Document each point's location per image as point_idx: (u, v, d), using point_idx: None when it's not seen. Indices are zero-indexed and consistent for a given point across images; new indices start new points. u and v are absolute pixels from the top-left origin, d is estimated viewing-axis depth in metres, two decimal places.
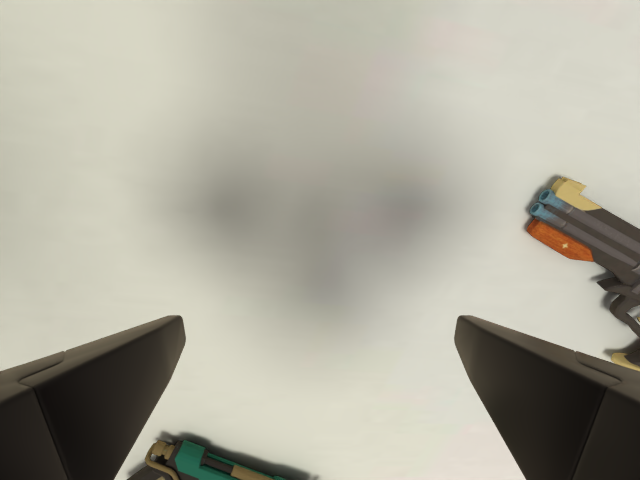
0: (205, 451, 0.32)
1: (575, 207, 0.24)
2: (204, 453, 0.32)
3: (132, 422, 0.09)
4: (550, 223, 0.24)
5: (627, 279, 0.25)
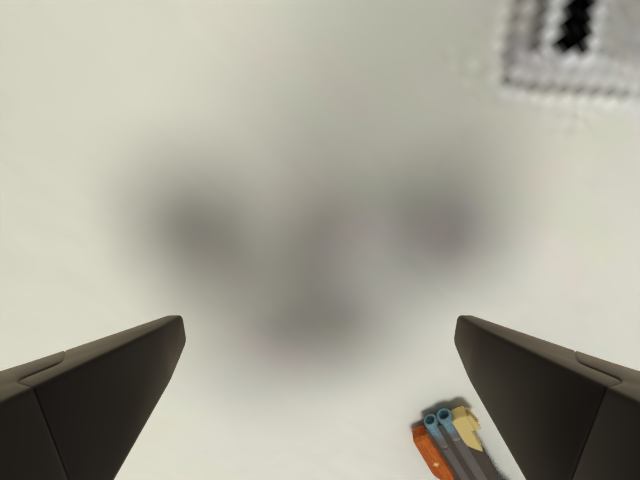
0: None
1: (462, 439, 0.23)
2: None
3: (132, 422, 0.09)
4: (434, 440, 0.24)
5: None
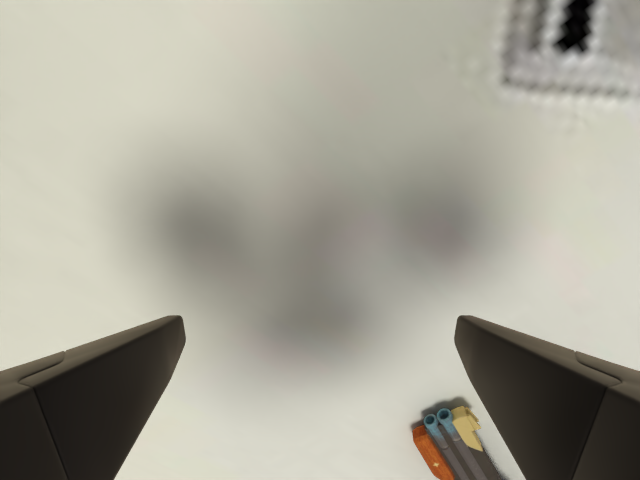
0: None
1: (462, 439, 0.23)
2: None
3: (132, 422, 0.09)
4: (434, 440, 0.24)
5: None
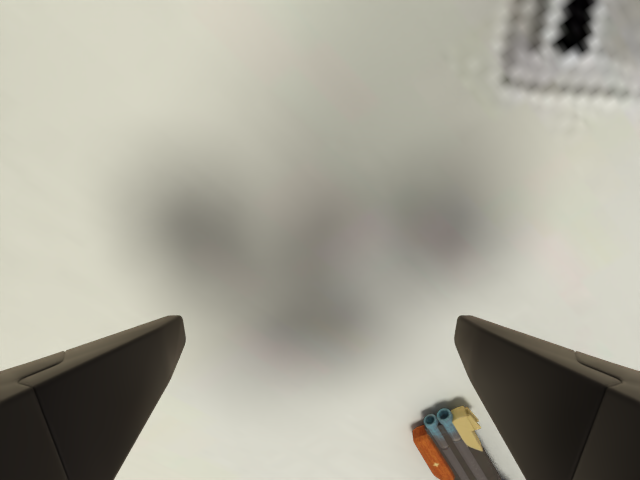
0: None
1: (462, 439, 0.23)
2: None
3: (132, 422, 0.09)
4: (434, 440, 0.24)
5: None
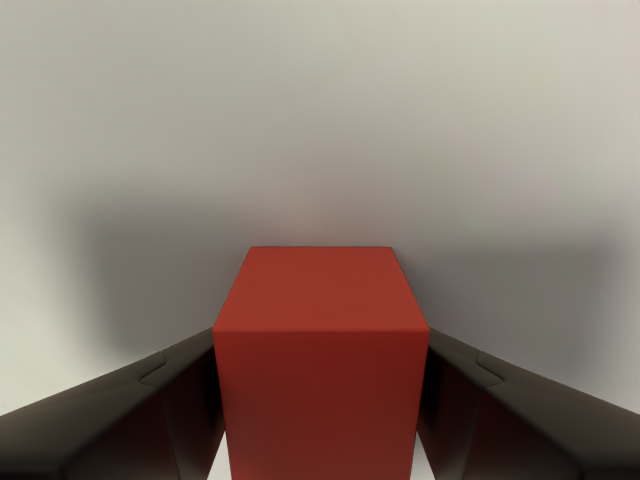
0: None
1: None
2: None
3: (219, 422, 0.09)
4: None
5: None
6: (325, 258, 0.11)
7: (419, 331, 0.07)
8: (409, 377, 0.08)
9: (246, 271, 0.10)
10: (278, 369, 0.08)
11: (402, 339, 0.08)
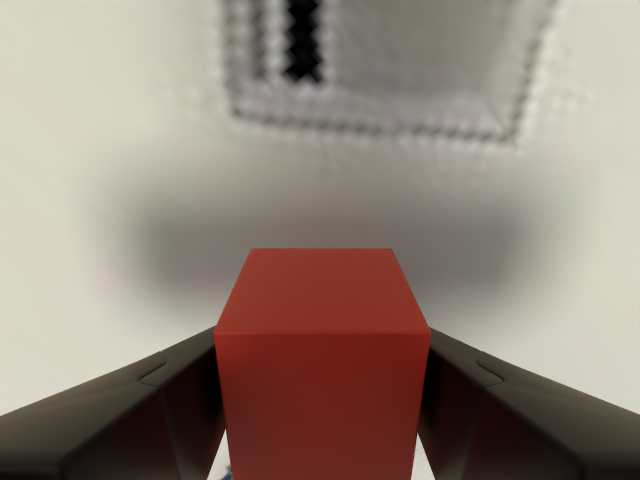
0: None
1: None
2: None
3: (219, 422, 0.09)
4: None
5: None
6: (326, 260, 0.11)
7: (420, 333, 0.08)
8: (410, 379, 0.08)
9: (247, 273, 0.10)
10: (279, 372, 0.08)
11: (403, 341, 0.08)
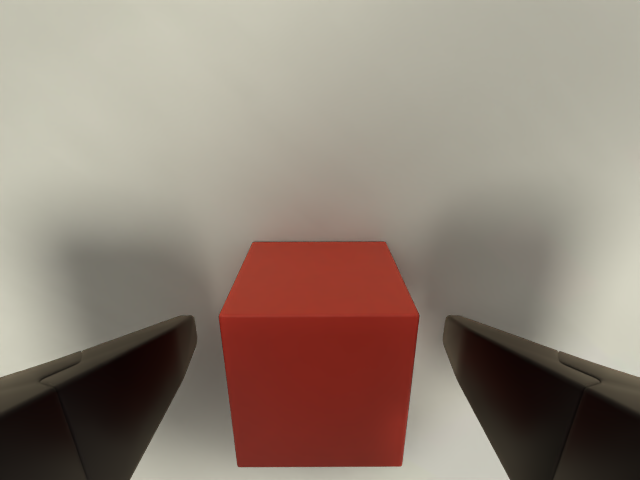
0: None
1: None
2: None
3: (147, 422, 0.09)
4: None
5: None
6: (323, 252, 0.11)
7: (409, 316, 0.08)
8: (400, 359, 0.09)
9: (249, 264, 0.11)
10: (280, 353, 0.09)
11: (393, 324, 0.08)
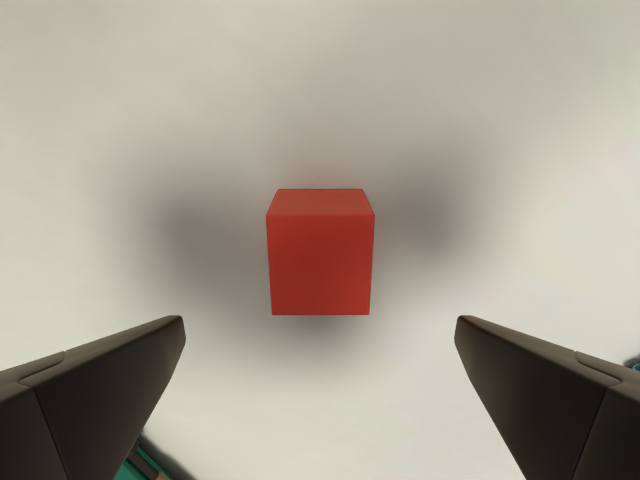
0: (136, 443, 0.25)
1: None
2: (134, 445, 0.24)
3: (132, 422, 0.09)
4: None
5: None
6: (322, 193, 0.18)
7: (369, 215, 0.15)
8: (365, 242, 0.16)
9: (277, 198, 0.18)
10: (298, 238, 0.15)
11: (361, 219, 0.15)
